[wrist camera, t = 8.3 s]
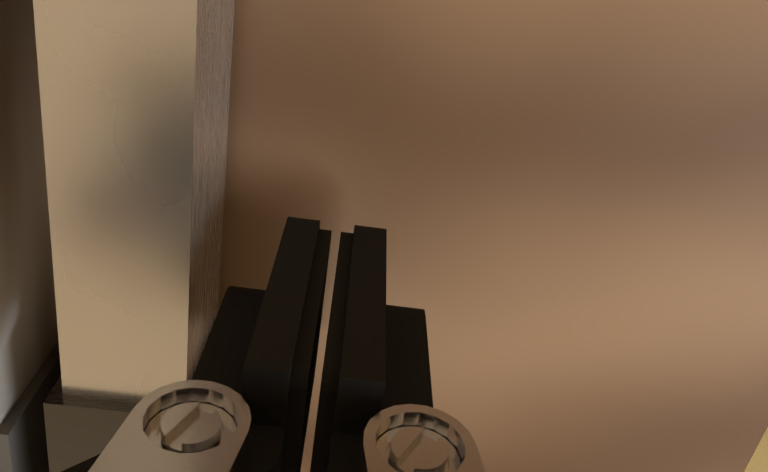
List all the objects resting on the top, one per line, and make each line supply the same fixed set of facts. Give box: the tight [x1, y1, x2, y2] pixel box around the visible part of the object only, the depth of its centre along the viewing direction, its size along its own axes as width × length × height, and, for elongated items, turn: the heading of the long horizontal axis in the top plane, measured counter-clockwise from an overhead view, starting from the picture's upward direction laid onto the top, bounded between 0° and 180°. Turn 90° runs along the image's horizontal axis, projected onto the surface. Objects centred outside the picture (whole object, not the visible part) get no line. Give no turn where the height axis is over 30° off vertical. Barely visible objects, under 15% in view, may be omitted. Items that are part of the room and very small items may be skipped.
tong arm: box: [33, 0, 235, 472], centre depth 9 cm, size 18×2×3 cm, turn 172°
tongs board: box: [0, 0, 768, 472], centre depth 10 cm, size 28×20×4 cm
